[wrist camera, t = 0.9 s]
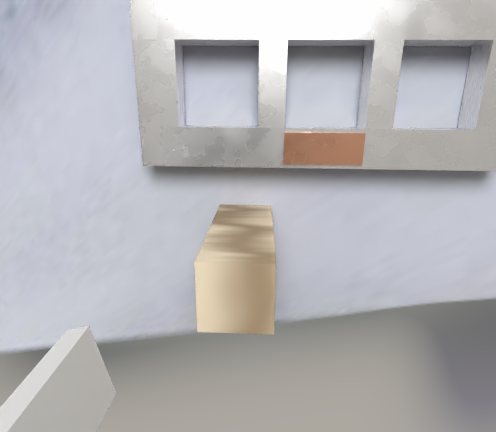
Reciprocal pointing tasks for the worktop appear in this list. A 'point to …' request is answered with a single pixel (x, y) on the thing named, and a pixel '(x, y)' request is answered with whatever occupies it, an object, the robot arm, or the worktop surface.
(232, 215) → the beech peg
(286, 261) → the worktop surface
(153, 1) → the slotted peg board
